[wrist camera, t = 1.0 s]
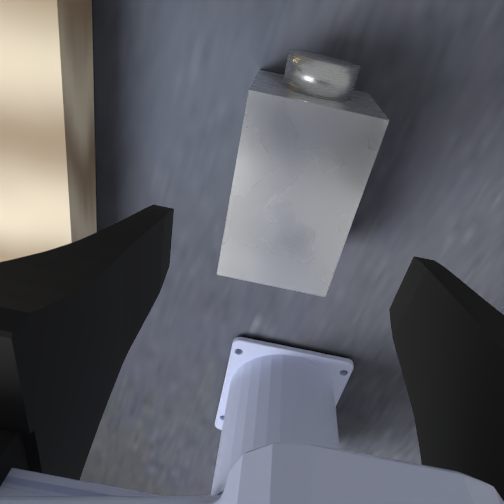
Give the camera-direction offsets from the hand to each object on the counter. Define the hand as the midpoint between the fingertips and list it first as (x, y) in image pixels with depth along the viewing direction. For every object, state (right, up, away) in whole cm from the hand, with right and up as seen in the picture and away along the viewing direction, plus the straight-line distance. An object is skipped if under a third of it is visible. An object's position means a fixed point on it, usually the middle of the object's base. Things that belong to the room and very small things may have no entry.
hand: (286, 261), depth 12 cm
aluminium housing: (+1, +5, +8) cm, 10 cm away
